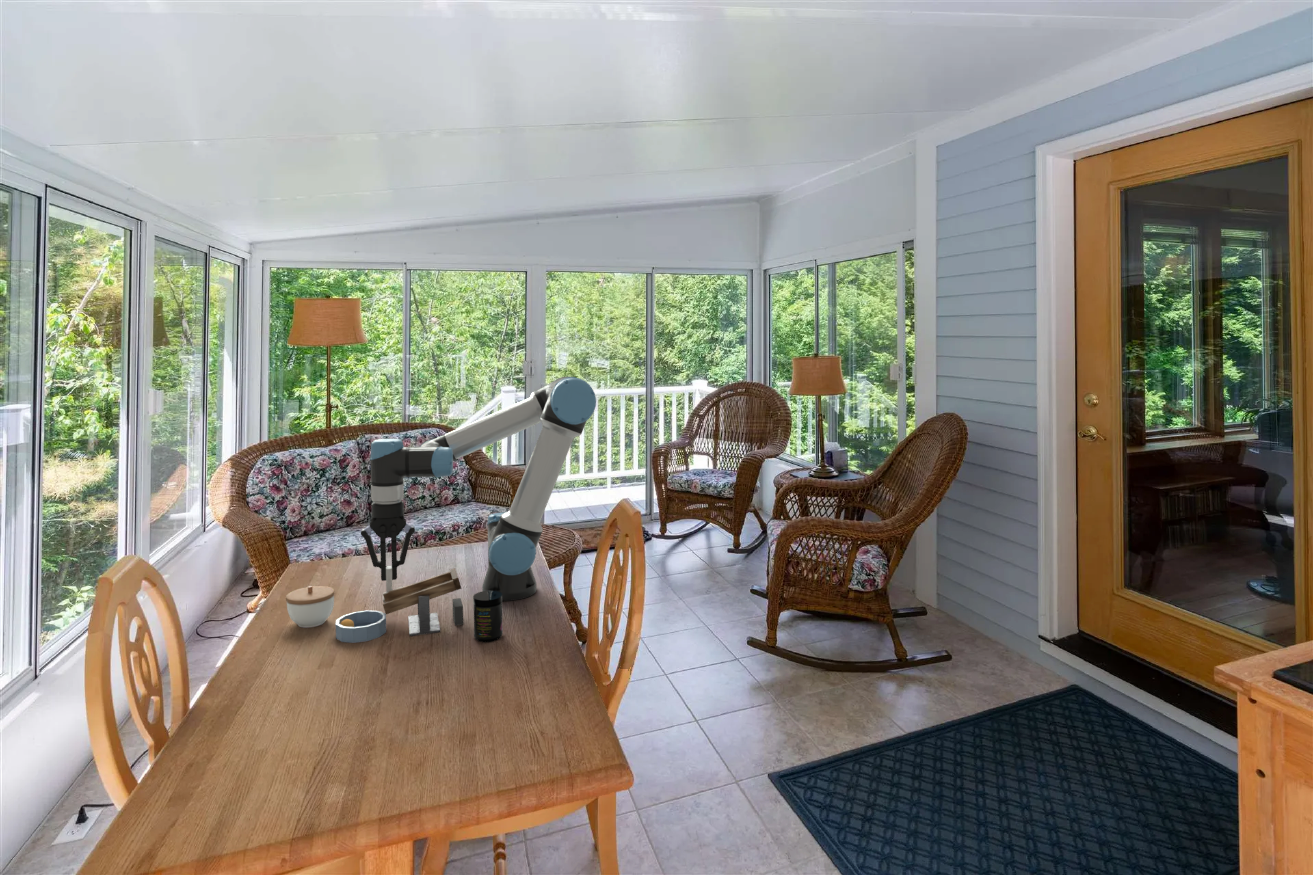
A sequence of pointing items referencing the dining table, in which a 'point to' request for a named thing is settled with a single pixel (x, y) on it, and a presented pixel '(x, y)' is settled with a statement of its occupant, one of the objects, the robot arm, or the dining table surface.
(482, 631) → the supplement container
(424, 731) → the dining table surface
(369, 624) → the bowl
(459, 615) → the block
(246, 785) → the dining table surface
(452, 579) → the lever
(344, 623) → the ball
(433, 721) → the dining table surface
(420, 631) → the pivot stand
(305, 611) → the lidded jar
